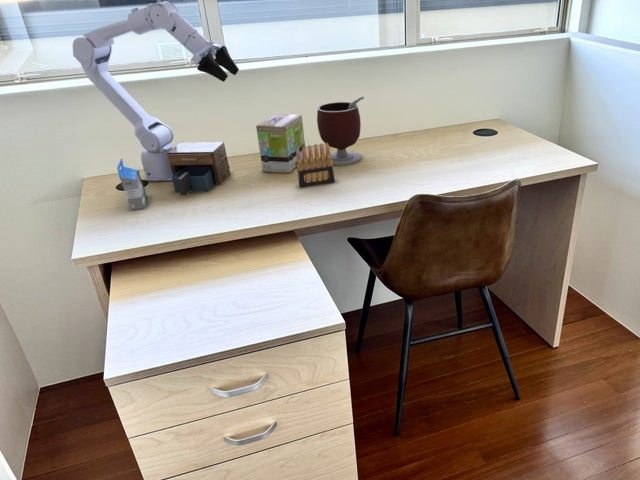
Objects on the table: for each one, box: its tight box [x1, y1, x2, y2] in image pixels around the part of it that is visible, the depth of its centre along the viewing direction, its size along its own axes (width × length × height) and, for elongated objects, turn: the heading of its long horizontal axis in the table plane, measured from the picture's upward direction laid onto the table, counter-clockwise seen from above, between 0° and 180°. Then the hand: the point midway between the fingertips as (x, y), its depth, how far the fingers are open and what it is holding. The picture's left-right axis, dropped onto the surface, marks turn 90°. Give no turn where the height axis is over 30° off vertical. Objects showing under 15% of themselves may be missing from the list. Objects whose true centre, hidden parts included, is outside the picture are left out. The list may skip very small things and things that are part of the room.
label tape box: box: [116, 157, 148, 211], centre depth 156 cm, size 9×4×12 cm, turn 16°
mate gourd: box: [316, 96, 365, 166], centre depth 181 cm, size 16×14×20 cm
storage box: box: [171, 166, 216, 197], centre depth 166 cm, size 10×16×6 cm, turn 176°
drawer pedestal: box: [167, 141, 231, 186], centre depth 171 cm, size 12×14×10 cm
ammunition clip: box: [296, 142, 336, 189], centre depth 164 cm, size 11×2×12 cm, turn 111°
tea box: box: [255, 113, 306, 173], centre depth 180 cm, size 15×10×15 cm
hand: (231, 75), depth 158 cm, fingers open, 7 cm apart
